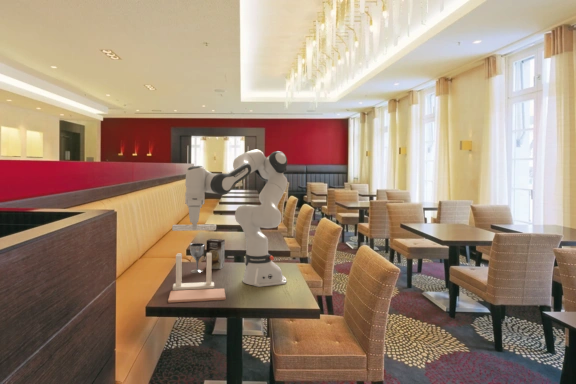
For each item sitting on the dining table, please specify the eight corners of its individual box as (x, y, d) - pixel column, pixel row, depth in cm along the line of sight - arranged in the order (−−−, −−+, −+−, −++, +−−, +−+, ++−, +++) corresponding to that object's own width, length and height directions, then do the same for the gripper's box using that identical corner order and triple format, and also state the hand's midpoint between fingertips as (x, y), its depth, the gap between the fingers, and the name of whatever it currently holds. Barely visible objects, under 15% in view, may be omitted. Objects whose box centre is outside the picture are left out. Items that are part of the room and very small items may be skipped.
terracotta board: (224, 290, 171) (224, 288, 171) (225, 299, 159) (225, 297, 159) (170, 293, 166) (170, 290, 166) (168, 302, 154) (168, 300, 154)
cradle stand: (213, 284, 180) (214, 252, 179) (214, 288, 174) (214, 255, 173) (173, 286, 176) (173, 253, 175) (172, 290, 170) (172, 256, 169)
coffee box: (205, 268, 208) (205, 240, 207) (209, 265, 214) (210, 238, 213) (220, 269, 206) (221, 241, 205) (224, 266, 213) (225, 239, 212)
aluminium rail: (216, 229, 176) (216, 224, 176) (216, 230, 173) (216, 225, 173) (172, 229, 171) (172, 224, 171) (172, 230, 169) (172, 225, 169)
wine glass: (206, 270, 204) (207, 243, 203) (200, 273, 196) (200, 246, 196) (194, 268, 206) (194, 242, 205) (187, 272, 198) (187, 245, 197)
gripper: (189, 198, 181) (188, 225, 182) (186, 202, 161) (186, 233, 162) (202, 198, 182) (201, 225, 183) (201, 202, 162) (201, 233, 163)
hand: (194, 229), depth 172 cm, fingers closed on aluminium rail, 2 cm apart
